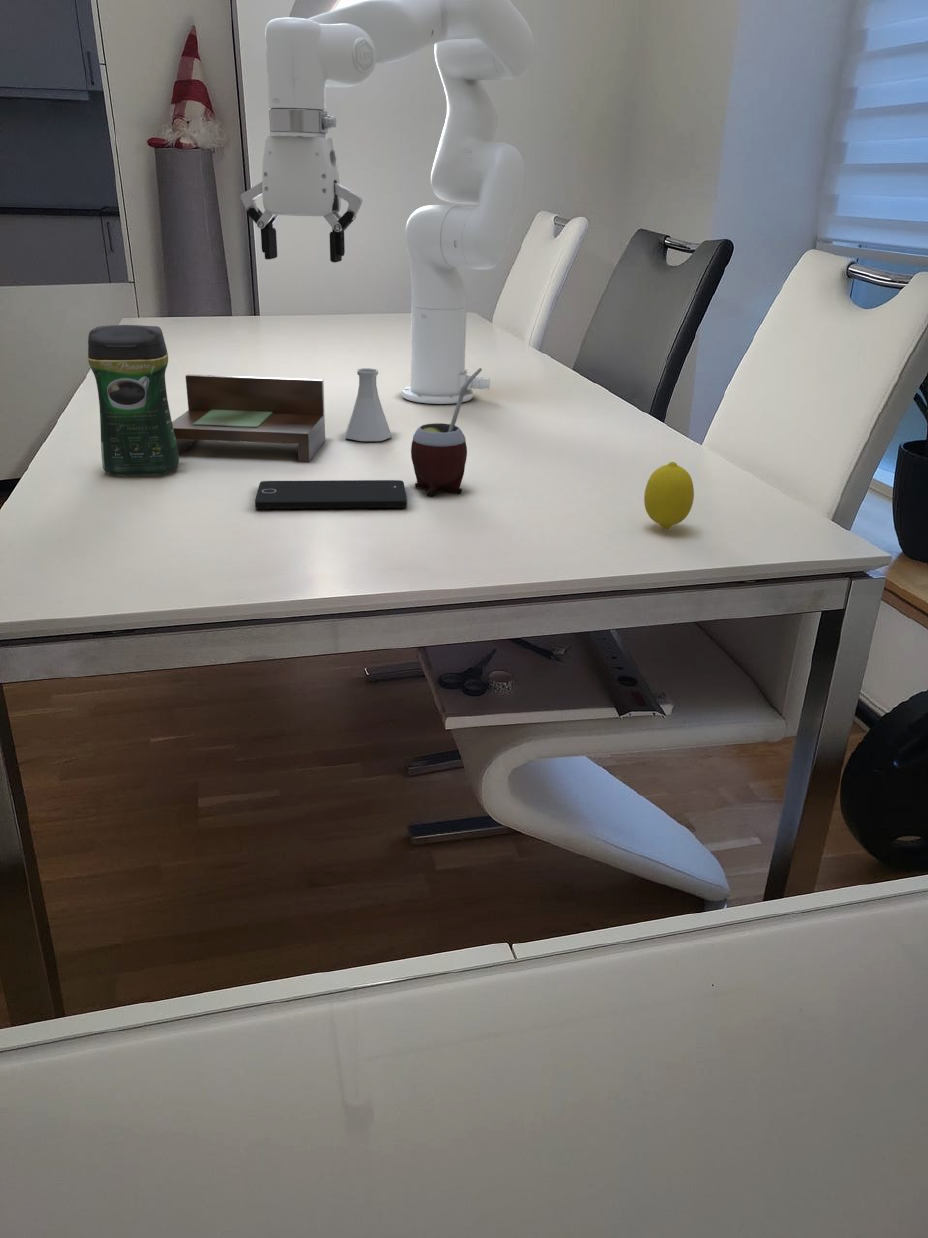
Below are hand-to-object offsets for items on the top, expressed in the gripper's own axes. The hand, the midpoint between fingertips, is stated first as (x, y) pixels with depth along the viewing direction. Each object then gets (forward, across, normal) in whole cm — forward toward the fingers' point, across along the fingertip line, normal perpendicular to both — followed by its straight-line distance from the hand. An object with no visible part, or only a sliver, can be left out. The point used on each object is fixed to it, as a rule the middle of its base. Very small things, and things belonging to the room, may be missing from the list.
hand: (303, 259), depth 142 cm
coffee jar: (+25, +15, +25) cm, 38 cm away
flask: (+25, -9, -1) cm, 27 cm away
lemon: (+25, -54, +30) cm, 67 cm away
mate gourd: (+25, -25, +22) cm, 42 cm away
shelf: (+25, +6, +10) cm, 28 cm away
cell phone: (+25, -13, +30) cm, 41 cm away
